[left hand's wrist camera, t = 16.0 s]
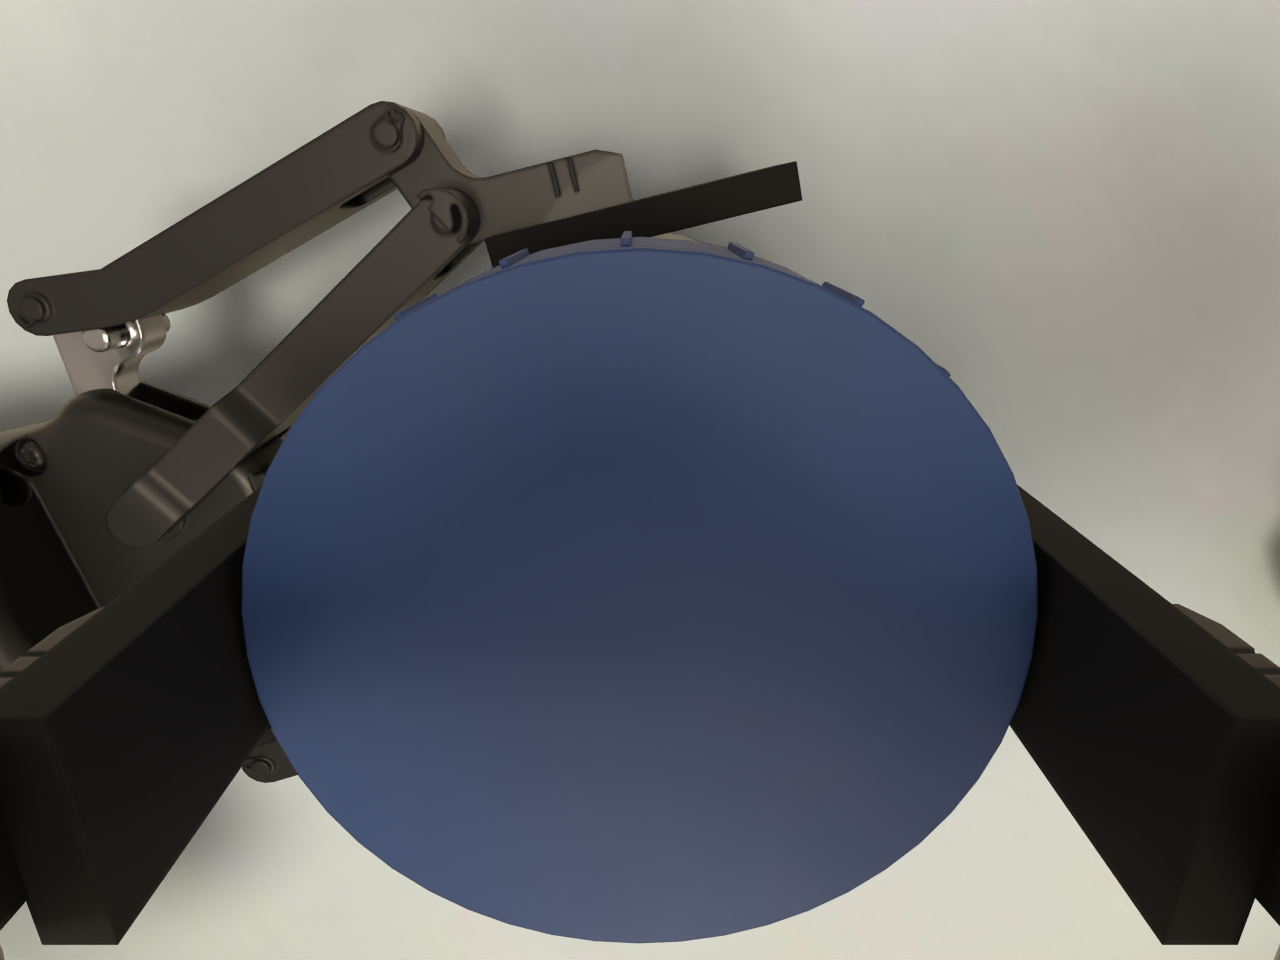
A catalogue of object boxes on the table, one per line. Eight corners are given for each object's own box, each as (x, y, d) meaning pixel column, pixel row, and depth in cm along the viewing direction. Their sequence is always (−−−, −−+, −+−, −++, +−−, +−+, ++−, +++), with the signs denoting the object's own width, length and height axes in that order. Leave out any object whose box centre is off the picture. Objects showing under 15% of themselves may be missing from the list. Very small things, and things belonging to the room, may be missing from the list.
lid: (642, 49, 10) (643, 7, 7) (1103, 576, 12) (1204, 660, 10) (176, 572, 12) (75, 655, 10) (639, 916, 15) (639, 1042, 13)
